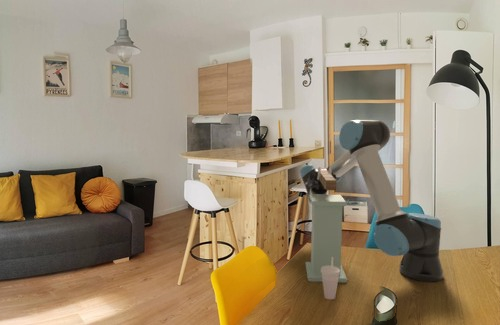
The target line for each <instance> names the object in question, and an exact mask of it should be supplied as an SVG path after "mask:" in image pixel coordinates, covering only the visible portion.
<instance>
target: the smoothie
mask: <svg viewBox="0 0 500 325" xmlns="http://www.w3.org/2000/svg"><path fill="white" fill-rule="evenodd" d="M321 273H322V281H323V282H322V288H323V296H324V299H327V300H335V299H336V296H337V295H336V294H337V290H338V283H339V282H338V278H339V274H340V269H339V268H337V267H335V266H333V257H332V261H331V266H323V267H321Z"/></svg>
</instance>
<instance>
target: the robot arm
mask: <svg viewBox="0 0 500 325" xmlns="http://www.w3.org/2000/svg"><path fill="white" fill-rule="evenodd" d="M338 136H339V137H338V139H339V144H340V146H341V148H343V149H345V150H347V151H345V152H344V153H343V154H342V155H341V156H340V157H338V158H337V159H336V160H335V161H334V162H333V163H331V164H330V165H329V166H328V167H327V168H321V167H320V166H318V168H316V167H315V166H314V164H306V165H304V166H302V167H301V168H300V170H299V173H300V177H301V179H302V182H303V185H304V186H305V190H306V193H307V196H308V198H307V199H308V202H309V203H310V204H311V205H312V203H311V201H310V198H309V196H310V194H325V195H327V193H328V190H326V189H325V188H324V186H323V185H322V183H321V182H320V180H319V178H320V174H321V170H327V171H328V172H329V173H330V174H331V175H332V176H333V177H334V178H335V179H336V180H337V181H336V183H338V182H340V181H342V178H343V175H344V174H346V173H347V172H348V171H350V170H351V169H352V168H354V167H355V166H357V165H358V166H359V169H360V173H361V175H362V177H363V181H364V184H365V186H366V189H367V191H368V194H369V197H370V199H371V202H372V205H373V207H374V210H375V213H376V220H375V221H374V223H375V226H376V227H375V229H374V233H373V239H374V242H375V244H376V246H377V248H378V249H379V250H380V252H382V253H384V254H386V255H387V256H391V257H398V256H400V257H401V256H402V258H401V260H400V262H399V272H400V273H401V274H402V275H404V276H405V277H408V278H410V279H412V280H416V281H421V282H425V283H426V282H429V283H431V282H432V283H433V282H439V281H441V280H443V278H444V270H443V267H442V264H441V261H440V260H441V259H440V246H441V244H440V243H441V230H442V227H441V226H442V225H441V223H442V222H441V220H440V219H439V218H438V217H436V216H433V215H429V214H424V213H419V212H417V213H416V212H409V213H407V212H405V211H403V210H402V209H401V207H400V204H399V202H398V199H397V197H396V194H395V192H394V189H393V187H392V184H391V181H390V178H389V176H388V174H387V171H386V168H385V166H384V163H383V160H382V159H381V156H380V153H379V151H380V150H382V149H383V148H384V147H386V145H387V144H388V143H389V140H390V138H391V130H390V128H389V126H388V124H386V123H385V122H383V121H381V120H378V119H354V120H348V121H346V122H345V123H344V124H343V125H342V127H341V128H340V132H339V135H338Z"/></svg>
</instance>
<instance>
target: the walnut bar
mask: <svg viewBox="0 0 500 325" xmlns="http://www.w3.org/2000/svg"><path fill="white" fill-rule="evenodd" d="M319 180H320V182H321V183H322V185H323V186H324V188H325V189H326V190H327V191H337V182H336V181H337V180H336V179H335V178H334V177H333V176H332V175H331V174H330V173H329V172H328V171H327V170H321V174H320V178H319Z"/></svg>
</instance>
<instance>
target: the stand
mask: <svg viewBox="0 0 500 325" xmlns="http://www.w3.org/2000/svg"><path fill="white" fill-rule="evenodd" d="M309 198H310V201H311V203H312V204H311V203H310V204H311V234H310V235H311V239H310V240H311V244H310V245H311V247H310V248H311V249H310V261H305V270H306V277H307V280H308V282H322V283H323V281H322V273H321V267H323V266H331V261H332V257H333V266H335V267H337V268H339V269H340V274H339V278H338V283H346V284H347V282H348V279H347V276H346V273H345V271H344V269H343V266H342V238H343V236H342V235H343V234H342V233H343V207H345V206H347V201H346V200H345V199H344V198H343V196H342V195H341V194H326V195H325V194H310V196H309Z"/></svg>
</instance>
